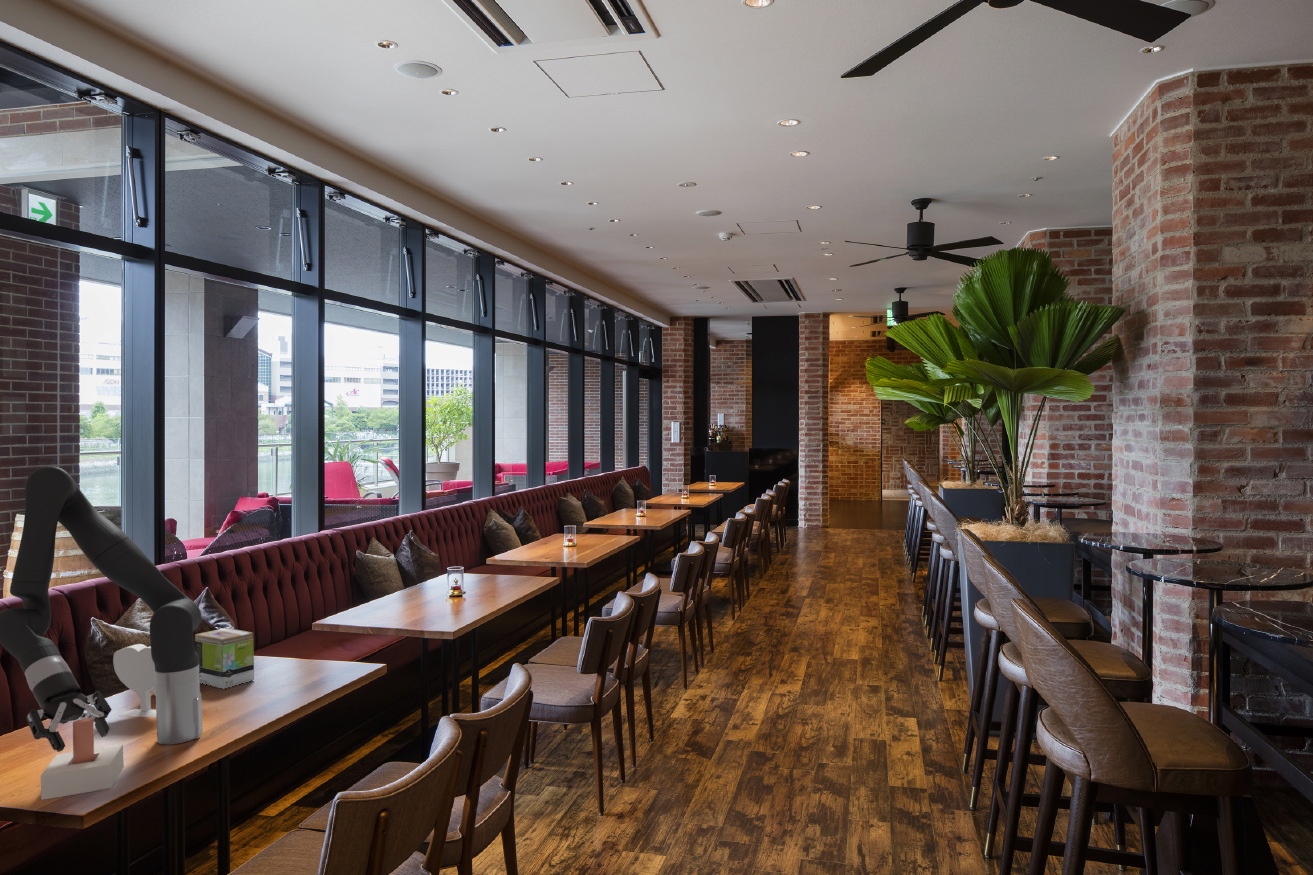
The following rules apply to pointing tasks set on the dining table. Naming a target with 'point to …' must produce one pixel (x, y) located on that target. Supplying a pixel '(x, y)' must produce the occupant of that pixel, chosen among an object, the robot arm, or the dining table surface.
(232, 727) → the dining table surface
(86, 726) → the pin
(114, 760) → the block
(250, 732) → the dining table surface
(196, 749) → the dining table surface
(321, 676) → the dining table surface
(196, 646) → the tea box
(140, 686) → the heart sculpture
